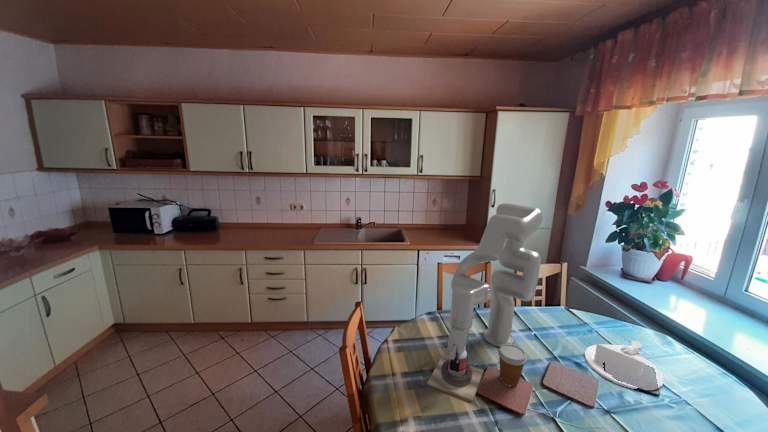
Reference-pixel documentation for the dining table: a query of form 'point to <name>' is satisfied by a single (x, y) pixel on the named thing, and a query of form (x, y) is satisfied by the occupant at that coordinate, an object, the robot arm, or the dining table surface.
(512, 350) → the disposable coffee cup
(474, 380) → the socket board
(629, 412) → the dining table surface
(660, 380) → the dish
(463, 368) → the pill bottle
